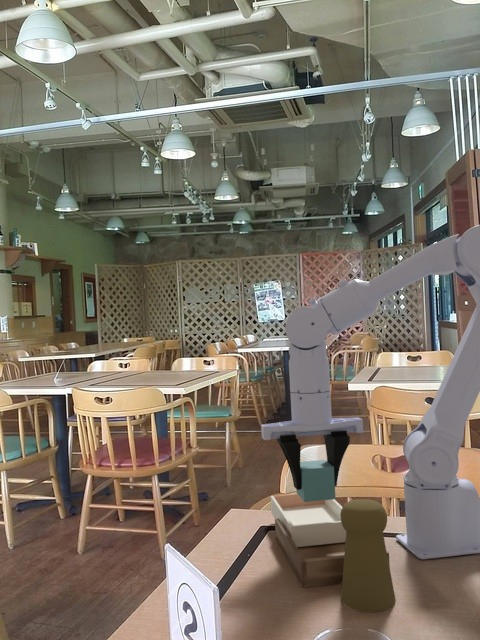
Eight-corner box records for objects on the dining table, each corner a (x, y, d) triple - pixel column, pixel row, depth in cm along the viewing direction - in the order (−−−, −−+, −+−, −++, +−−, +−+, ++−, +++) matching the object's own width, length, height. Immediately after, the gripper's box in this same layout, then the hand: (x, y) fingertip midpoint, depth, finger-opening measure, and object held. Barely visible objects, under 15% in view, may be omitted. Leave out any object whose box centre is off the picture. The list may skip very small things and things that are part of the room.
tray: (326, 508, 94) (325, 490, 94) (357, 540, 79) (356, 520, 79) (271, 513, 92) (270, 496, 92) (292, 547, 78) (291, 527, 78)
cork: (397, 613, 61) (391, 510, 62) (340, 610, 63) (334, 510, 63) (394, 587, 67) (388, 494, 67) (341, 585, 68) (336, 493, 69)
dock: (347, 531, 86) (346, 511, 86) (390, 577, 70) (388, 552, 70) (275, 539, 85) (274, 518, 85) (302, 587, 68) (301, 562, 69)
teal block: (335, 499, 80) (333, 466, 80) (304, 502, 79) (302, 469, 79) (326, 490, 84) (324, 459, 85) (296, 493, 84) (295, 462, 84)
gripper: (349, 385, 87) (354, 474, 87) (255, 391, 85) (260, 483, 85) (366, 390, 80) (371, 487, 80) (264, 396, 78) (269, 496, 78)
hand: (315, 486), depth 82 cm, fingers closed on teal block, 4 cm apart
